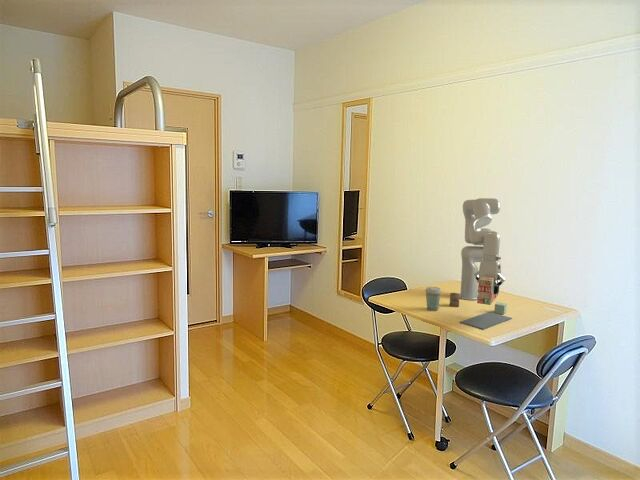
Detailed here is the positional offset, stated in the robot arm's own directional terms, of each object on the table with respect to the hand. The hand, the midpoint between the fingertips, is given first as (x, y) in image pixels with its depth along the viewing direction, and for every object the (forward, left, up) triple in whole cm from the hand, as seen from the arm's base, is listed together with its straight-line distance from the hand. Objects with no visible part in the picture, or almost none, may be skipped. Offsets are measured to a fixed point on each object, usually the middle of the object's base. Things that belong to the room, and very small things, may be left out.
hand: (488, 291), depth 229 cm
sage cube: (-19, -3, -15) cm, 25 cm away
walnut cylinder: (-10, -26, -15) cm, 32 cm away
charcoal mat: (0, 0, -15) cm, 15 cm away
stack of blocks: (-1, 0, -4) cm, 4 cm away
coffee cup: (+6, -29, -16) cm, 33 cm away
